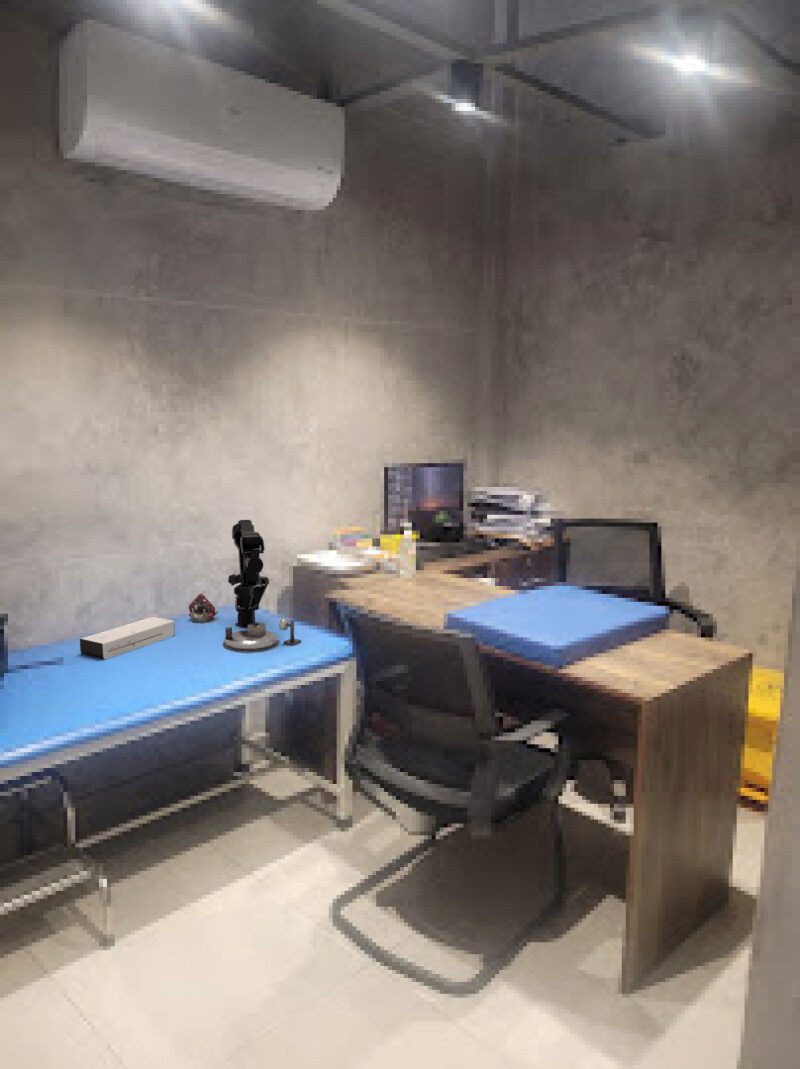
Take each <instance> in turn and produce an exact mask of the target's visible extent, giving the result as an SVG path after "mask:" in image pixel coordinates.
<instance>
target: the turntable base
mask: <svg viewBox="0 0 800 1069" xmlns="http://www.w3.org/2000/svg"><path fill="white" fill-rule="evenodd" d="M279 645H280V640H279V639H278V638H277V644H276V645H274V646H272V647H270V648H266V649H261V650H251V651H245V650H235V649H231V648H228V647H227V646H226V645H225V641H223V643H222V647H223V648H224V649H226V650H228V651H231V652H234V653H247V654H248V653H260V652H266V651H270V650H273V649H275V648H277V647H278V646H279Z"/></svg>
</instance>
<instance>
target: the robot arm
mask: <svg viewBox="0 0 800 1069" xmlns="http://www.w3.org/2000/svg"><path fill="white" fill-rule="evenodd" d="M231 539H232V540H233V544H234V546H235V547H236V549H237V551H238V566H239V573H238V574H235V573H233V574H230V575H228V578H227V579H228V580H227V582H228V584H230V585H231V586H232V587H233V586H235V585H237V586H235V587H234V589H233V594H234V595H236V596H235V600H234V609H235V611H236V612H238V613H237V622H236V623H235V624H234V625H235V626H238V627H244V628H248V624H250V623H255V622H256V611H258V610H260V603H261V600H262V598H263V596H264V594H265V592H266V590H267V588H268V585H270V579H269V578H268V577H267V576H261V574H260V573H261V572H262V571H263V568H264V562H263V560H262V558H261V557H260V554H265V553H264V551H265V550H266V549H265V543H264V539H263V536H261V534H260V533H259V531H255V525H254V524H252V520H251V519H240V520H238V521H237V523H236V524H234V525H233V526H232V528H231Z"/></svg>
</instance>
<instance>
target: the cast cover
mask: <svg viewBox="0 0 800 1069" xmlns="http://www.w3.org/2000/svg"><path fill="white" fill-rule="evenodd" d="M247 630H248V635H249V636H252V637H260V636H264V635H266V631H267V624H266V623H264V622H259V621H258V622H257V621H255V623H250V624H248V627H247Z"/></svg>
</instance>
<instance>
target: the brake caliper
mask: <svg viewBox="0 0 800 1069" xmlns="http://www.w3.org/2000/svg"><path fill="white" fill-rule="evenodd" d="M188 611H189V613H188V617H190V618H191V620H192V622H193V623H198V622H201V623H200V624H204V623H203V622H205V623H208V622H211V623H213V622H215V621H217V620H218V619H217V618H219V617H215V616H217V614H218V613H219V610H218V609H216V607H215V606H214V605H213V603H212V602H211V601H210V600H209V599H208V598H207V597H206V596H205V594H203V593H199V594H198V595H197V596H196V597H195V598H194V599H193V600H192V601H191V603H190V604H189V605H188ZM210 619H211V620H210ZM212 621H213V622H212Z"/></svg>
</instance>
